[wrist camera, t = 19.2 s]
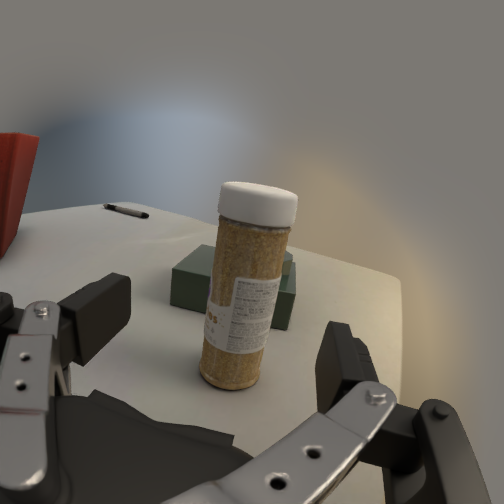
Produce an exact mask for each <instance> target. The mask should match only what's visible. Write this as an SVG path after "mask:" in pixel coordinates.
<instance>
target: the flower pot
mask: <svg viewBox="0 0 504 504" xmlns="http://www.w3.org/2000/svg"><path fill="white" fill-rule="evenodd" d="M38 142H39V137H38V136H33V135H29V134H23V133H0V259H1V258H2V257H3V255H4V254H5V252H6V250H7V249H8V247H9V245H10V244H11V242H12V241H13V239H14V238H15V236H16V234H17V230H18V226H19V222H20V218H21V214H22V209H23V205H24V201H25V197H26V193H27V189H28V185H29V181H30V177H31V172H32V168H33V164H34V160H35V155H36V151H37V147H38Z"/></svg>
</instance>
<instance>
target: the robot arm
mask: <svg viewBox="0 0 504 504" xmlns="http://www.w3.org/2000/svg"><path fill="white" fill-rule="evenodd" d="M130 315H131V280H130V278H129V277H128V276H124V275H120V274H117V273H111V274H109V275H107V276H106V277H104V278H102V279H101V280H99V281H96V282H93V283H89V284H88V285H86V286H84V287H83V288H82V289H79V290H78V291H76V292H75V293H73V294H71V295H70V296H68V297H66V298H65V299H63V300H62V301H60V302H58V303H57V304H56V303H54V302H51V301H37V302H33V303H31V304H29V305H28V306H27V307H26V308H25V310H24V309H19V308H14V305H13V299H12V296H11V295H10V294H8V293H5V292H0V504H321V503H322V502H323V501H324V500H325V499H326V498H327V497H328V496H329V495H330V494H331V493H332V492H333V491H334V489H335V488H336V487H337V486H338V485H339V484H340V483H341V482H342V481H343V480H344V478H345V477H346V476H347V475H348V474H349V473H350V472H351V470H352V469H353V468H354V467H355V466H356V464H357V463H358V462H359V461H361V462H365V463H368V464H372V465H375V466H379V467H382V473H383V482H384V491H385V502H386V504H491V500H490V497H489V494H488V491H487V488H486V485H485V482H484V479H483V476H482V473H481V470H480V468H479V465H478V462H477V460H476V457H475V455H474V452H473V450H472V447H471V445H470V442H469V440H468V437H467V435H466V433H465V430H464V428H463V426H462V423H461V421H460V419H459V417H458V414H457V412H456V411H455V409H454V408H453V407H451V405H449V404H448V403H446V402H444V401H441V400H438V399H429V400H426V401H424V402H423V403H422V405H421V407H420V408H419V410H418V409H413V408H410V407H406V406H403V405H400V404H397V398H396V396H395V394H394V392H393V391H392V390H391V389H390V388H388V387H387V386H385V385H383V384H381V383H379V380H378V377H377V374H376V371H375V368H374V365H373V363H372V360H371V357H370V356H369V355H370V354H369V351H368V349H367V346H366V345H365V344H364V343H363V342H362V341H361V340H360V339H359V338H353V336H352V333H351V330H350V327H349V324H345V323H339V322H333V321H329V323H328V325H327V327H326V330H325V334H324V337H323V340H322V343H321V346H320V349H319V352H318V355H317V359H316V365H315V375H316V391H317V410H318V412H316V413H314V414H313V415H312V416H311V417H309V418H308V419H307V420H306V421H304V422H303V423H302V424H301V425H299V426H298V427H297V428H295V429H294V430H293V431H291V432H290V433H289V434H288V435H286V436H285V437H283V438H282V439H281V440H279V441H278V442H277V443H275V444H274V445H272V446H271V447H270V448H268V449H267V450H265V451H264V452H262V453H261V454H260V455H258V456H257V457H255V458H254V457H252V456H251V455H249V454H248V453H246V452H244V451H242V450H241V449H239V448H236V447H234V446H232V444H233V439H234V435H231V434H226V433H222V432H218V431H214V430H210V429H206V428H202V427H198V426H192V425H181V424H172V423H164V422H158V421H154V420H152V419H150V418H149V417H147V416H146V415H144V414H142V413H141V412H139V411H138V410H136V409H135V408H133V407H131V406H130V405H128V404H127V403H125V402H124V401H121V400H119V399H116V398H114V397H111V396H109V395H107V394H104V393H102V392H100V391H98V390H95V389H94V390H93V392H92V393H91V394H90V395H89V396H88V397H84V396H75V395H72V393H71V371H70V366H69V364H70V363H71V362H75V363H77V364H79V365H81V366H83V367H84V366H85V365H86V364H87V363H88V362H89V361H90V360H91V359H92V358H93V357H94V356H95V355H96V354H97V353H98V352H99V351H100V350H101V349H102V348H103V347H104V346H105V345H106V344H107V343H108V342H109V341H110V340H111V339H112V338H113V337H114V336H115V335H116V334H117V333H118V332H119V331H121V330H122V329H123V328H124V327H125V326H126V325H127V323H128V321H129V319H130Z"/></svg>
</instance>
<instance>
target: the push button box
mask: <svg viewBox="0 0 504 504" xmlns="http://www.w3.org/2000/svg"><path fill="white" fill-rule="evenodd" d="M215 248H216V247H213V246H208V245H200V246H199V247H198V248H197V249H196V250H194V251H193V252H192V253H191V254H189V255H188V256H187V257H186V258H184V259H183V260H182V261H181V262H179V263H178V264H177V265H176V266H175V267H173V268H172V280H171V295H170V304H171V305H174V306H178V307H182V308H186V309H190V310H194V311H199V312H203V313H206V310H207V301H208V294H209V286H210V278H211V271H212V268H213V262H214V253H215ZM292 260H293V255H292V254H290V253H289V252H287V251H286V250H285V255H284V260H283V265H282V271H281V273H282V275H281V280H280V285H279V289H278V294H277V299H276V303H275V308H274V312H273V317H272V321H271V325H270V327H272V328H278V329H283V330H287V328H288V324H289V320H290V316H291V312H292V308H293V304H294V300H295V296H296V270H295V262H292Z"/></svg>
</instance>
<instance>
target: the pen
mask: <svg viewBox="0 0 504 504" xmlns="http://www.w3.org/2000/svg"><path fill="white" fill-rule="evenodd" d="M103 206H104V207H105V208H107V209H111V210H115V211H119V212H123V213H127V214H131V215H134V216H138V217H142V218H148V217H149V214H146V213H144V212H140V211H135V210H131V209H127V208H122V207H118V206H114V205H110V204H107V203H106V204H104V205H103Z"/></svg>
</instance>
